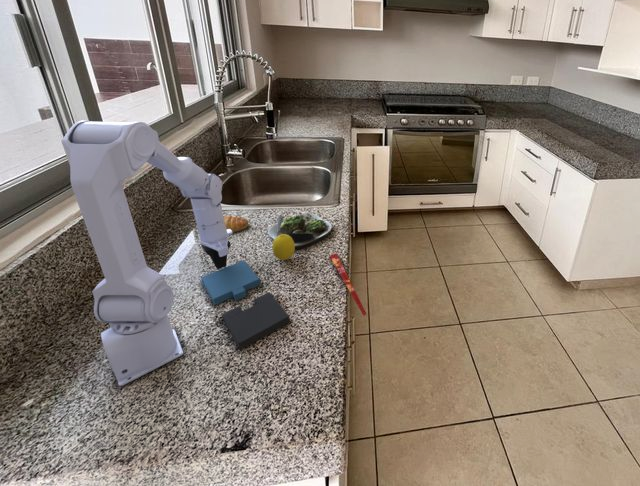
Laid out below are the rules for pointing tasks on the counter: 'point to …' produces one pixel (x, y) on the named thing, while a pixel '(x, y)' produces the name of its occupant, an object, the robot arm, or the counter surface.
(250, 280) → the blue pad
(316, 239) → the salad plate
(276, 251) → the lemon
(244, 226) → the pastry
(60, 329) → the counter surface
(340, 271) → the chopstick
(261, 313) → the charcoal pad
